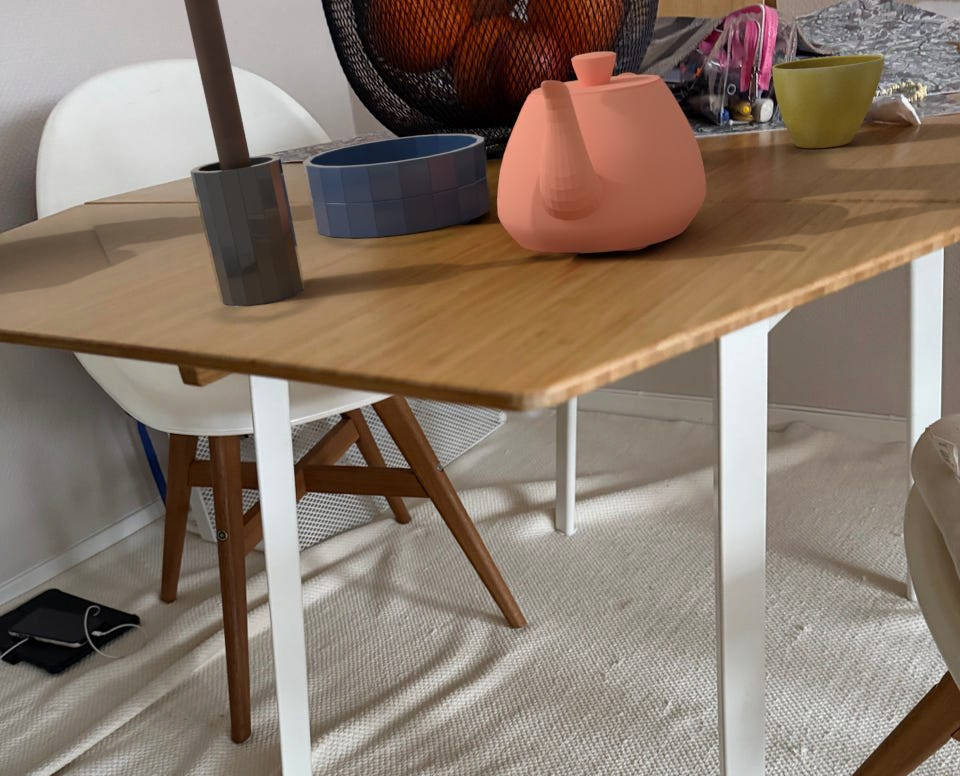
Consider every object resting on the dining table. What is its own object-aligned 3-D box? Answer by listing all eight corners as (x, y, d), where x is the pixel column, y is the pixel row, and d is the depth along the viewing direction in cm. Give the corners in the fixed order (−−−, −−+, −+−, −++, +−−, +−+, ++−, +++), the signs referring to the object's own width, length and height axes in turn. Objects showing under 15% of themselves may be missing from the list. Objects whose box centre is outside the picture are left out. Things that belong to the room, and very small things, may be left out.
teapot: (672, 279, 69) (668, 61, 63) (452, 284, 74) (428, 84, 68) (727, 205, 86) (728, 28, 80) (545, 213, 92) (533, 48, 85)
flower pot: (869, 131, 109) (875, 50, 105) (887, 147, 101) (894, 59, 97) (765, 141, 111) (767, 62, 107) (774, 157, 102) (777, 72, 99)
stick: (243, 298, 75) (168, -42, 65) (257, 290, 77) (186, -44, 66) (268, 297, 74) (196, -47, 64) (282, 289, 76) (214, -48, 66)
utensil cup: (206, 315, 75) (173, 174, 70) (250, 291, 79) (221, 158, 74) (280, 314, 73) (250, 169, 68) (320, 290, 77) (295, 153, 72)
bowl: (285, 248, 91) (270, 171, 88) (363, 209, 103) (353, 140, 100) (452, 242, 86) (442, 160, 83) (515, 202, 98) (508, 129, 95)
